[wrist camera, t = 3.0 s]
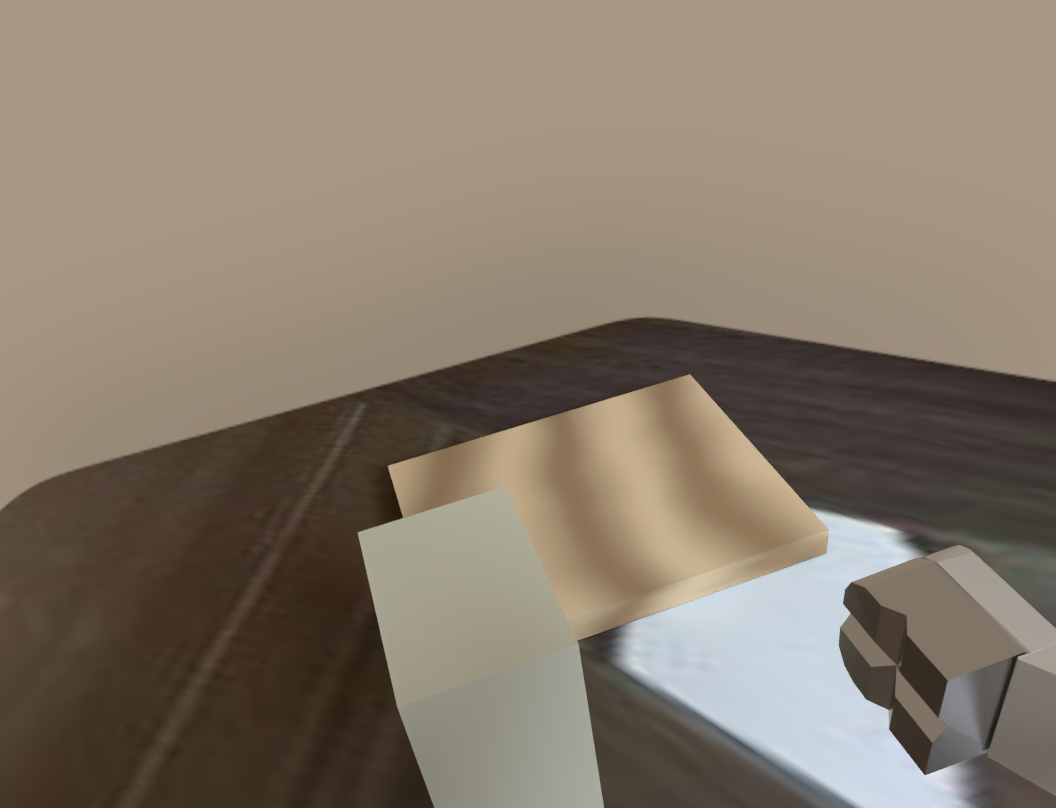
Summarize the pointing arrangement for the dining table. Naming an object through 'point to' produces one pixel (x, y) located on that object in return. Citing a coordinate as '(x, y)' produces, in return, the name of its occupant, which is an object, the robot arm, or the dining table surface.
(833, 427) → the dining table surface
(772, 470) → the cutting board
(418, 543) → the sage block
